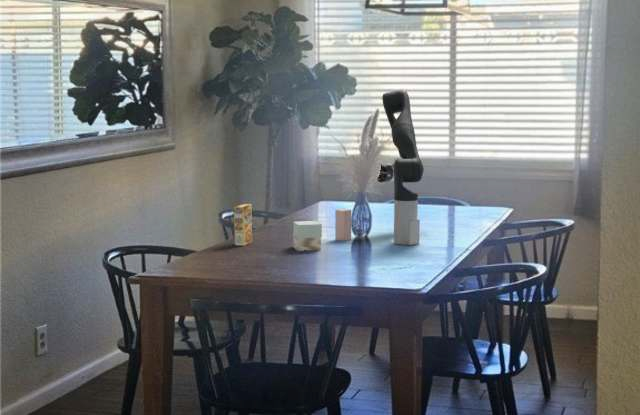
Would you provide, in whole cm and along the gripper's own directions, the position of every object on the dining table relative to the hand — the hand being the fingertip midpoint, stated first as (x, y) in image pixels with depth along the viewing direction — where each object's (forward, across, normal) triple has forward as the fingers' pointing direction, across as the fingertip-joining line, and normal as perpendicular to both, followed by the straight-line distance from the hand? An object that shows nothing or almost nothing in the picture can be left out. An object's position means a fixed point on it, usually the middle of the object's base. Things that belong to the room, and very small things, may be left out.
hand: (361, 175), depth 389 cm
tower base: (+36, +4, +25) cm, 44 cm away
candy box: (+46, -21, +25) cm, 57 cm away
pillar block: (+11, 0, +25) cm, 27 cm away
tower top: (+36, +4, +20) cm, 41 cm away
